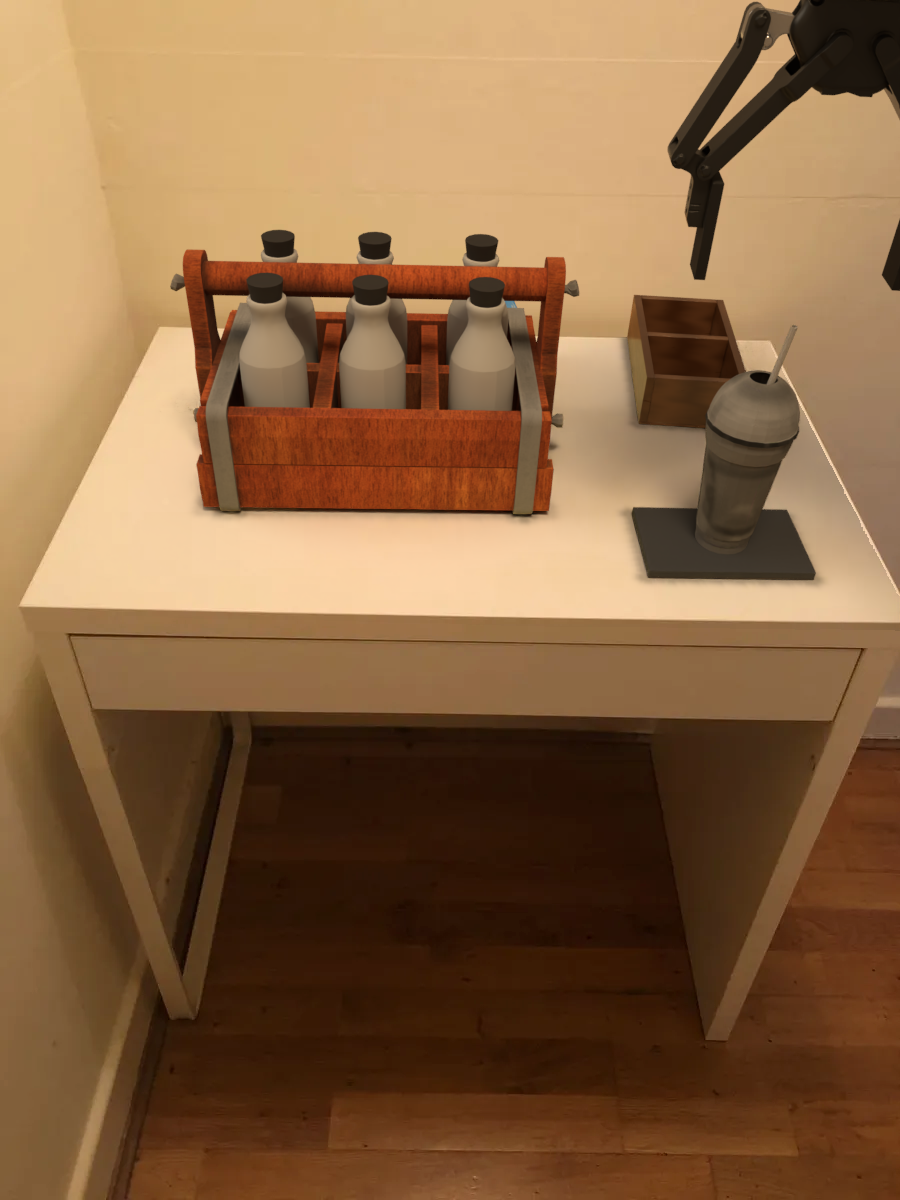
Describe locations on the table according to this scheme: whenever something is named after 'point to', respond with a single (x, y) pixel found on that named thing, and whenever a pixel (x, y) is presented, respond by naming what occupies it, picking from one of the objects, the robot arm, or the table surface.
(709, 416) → the beverage cup
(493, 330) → the milk bottle holder
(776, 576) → the mat
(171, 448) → the table surface
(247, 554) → the table surface
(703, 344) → the wooden compartment box
